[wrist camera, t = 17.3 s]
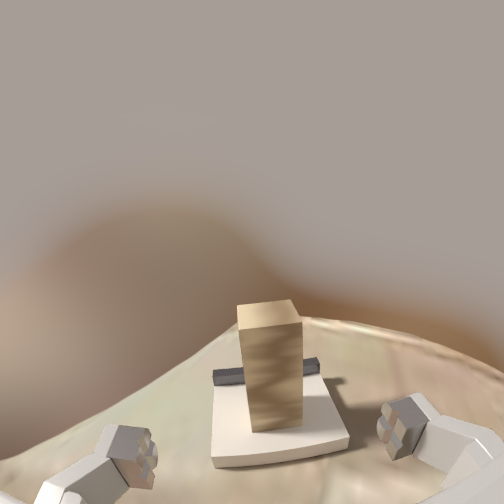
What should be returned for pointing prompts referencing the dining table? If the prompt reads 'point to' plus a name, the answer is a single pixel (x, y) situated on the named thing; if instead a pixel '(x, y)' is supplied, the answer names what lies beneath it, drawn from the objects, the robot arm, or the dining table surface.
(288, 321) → the oak block
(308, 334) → the dining table surface
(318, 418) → the dock
